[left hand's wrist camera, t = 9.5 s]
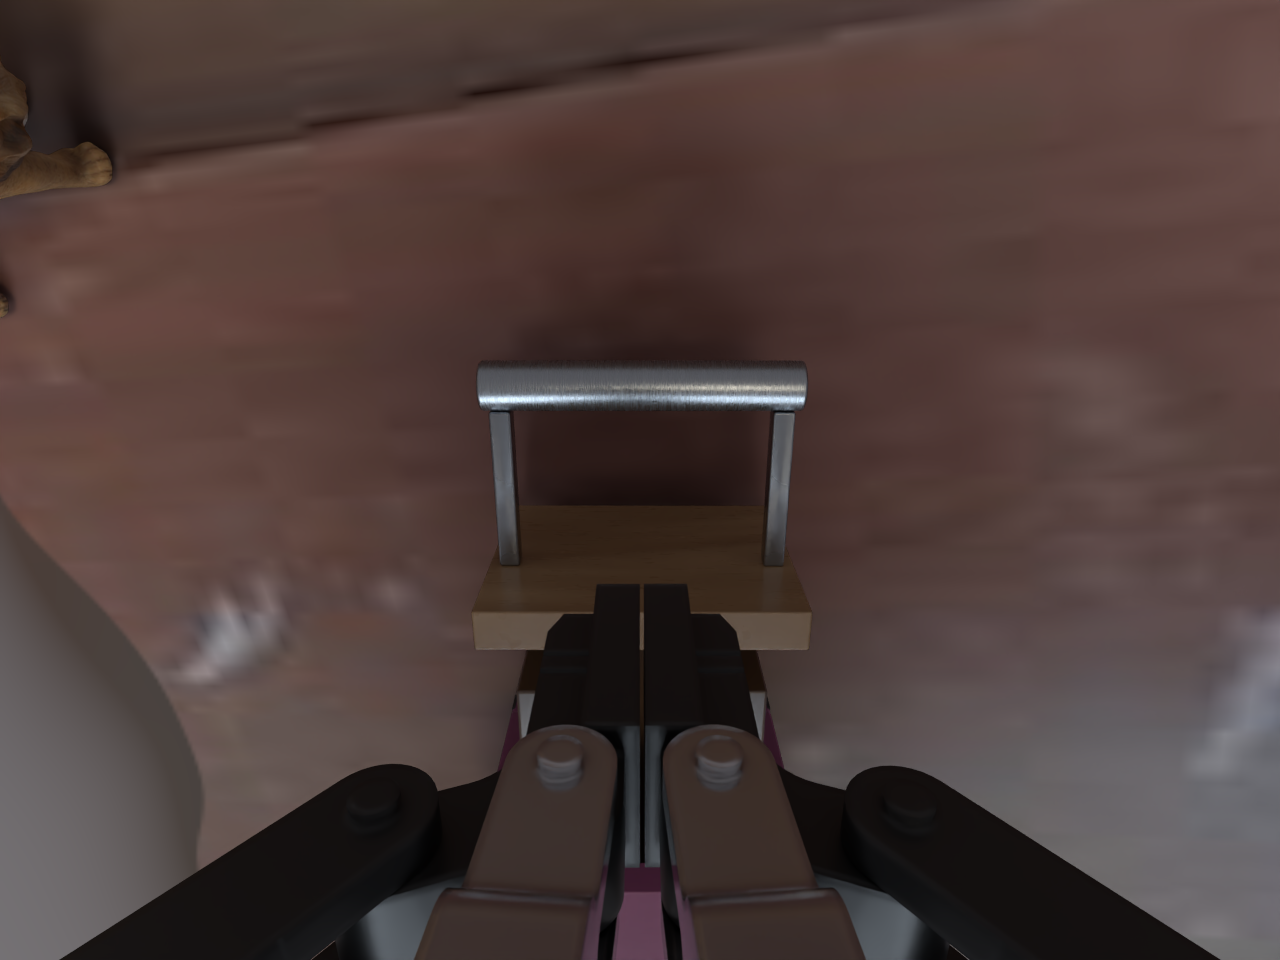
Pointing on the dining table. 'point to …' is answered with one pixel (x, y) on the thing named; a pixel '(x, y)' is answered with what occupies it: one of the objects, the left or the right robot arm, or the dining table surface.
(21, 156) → the lion figurine
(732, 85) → the dining table surface
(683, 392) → the drawer
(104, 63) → the dining table surface
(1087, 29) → the dining table surface
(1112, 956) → the left robot arm
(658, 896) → the purple rectangular box
